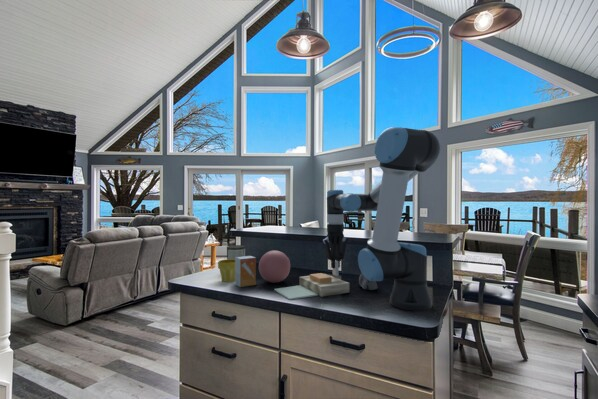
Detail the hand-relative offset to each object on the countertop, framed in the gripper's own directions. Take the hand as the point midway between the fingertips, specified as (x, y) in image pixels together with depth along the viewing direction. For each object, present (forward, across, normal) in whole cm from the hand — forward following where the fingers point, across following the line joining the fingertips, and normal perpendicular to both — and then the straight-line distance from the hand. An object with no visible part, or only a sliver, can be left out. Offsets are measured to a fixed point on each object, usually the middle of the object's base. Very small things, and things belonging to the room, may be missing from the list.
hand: (335, 275), depth 147 cm
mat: (+5, +20, 0) cm, 21 cm away
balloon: (+6, +20, -22) cm, 30 cm away
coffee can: (+6, +32, -54) cm, 63 cm away
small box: (+6, +36, -23) cm, 43 cm away
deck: (+5, +6, 0) cm, 8 cm away
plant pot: (+6, +41, -35) cm, 54 cm away
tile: (+1, +8, 0) cm, 8 cm away
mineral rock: (+6, -14, +6) cm, 16 cm away
